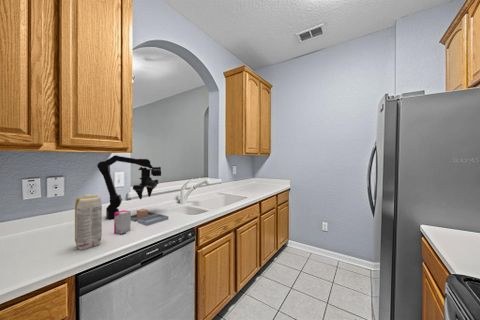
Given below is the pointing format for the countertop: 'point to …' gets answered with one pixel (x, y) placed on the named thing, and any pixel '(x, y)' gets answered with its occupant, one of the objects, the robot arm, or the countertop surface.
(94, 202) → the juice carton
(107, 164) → the robot arm
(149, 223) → the tray
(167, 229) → the countertop surface
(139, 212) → the brown cube
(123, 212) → the supplement box
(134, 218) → the bin
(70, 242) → the countertop surface
